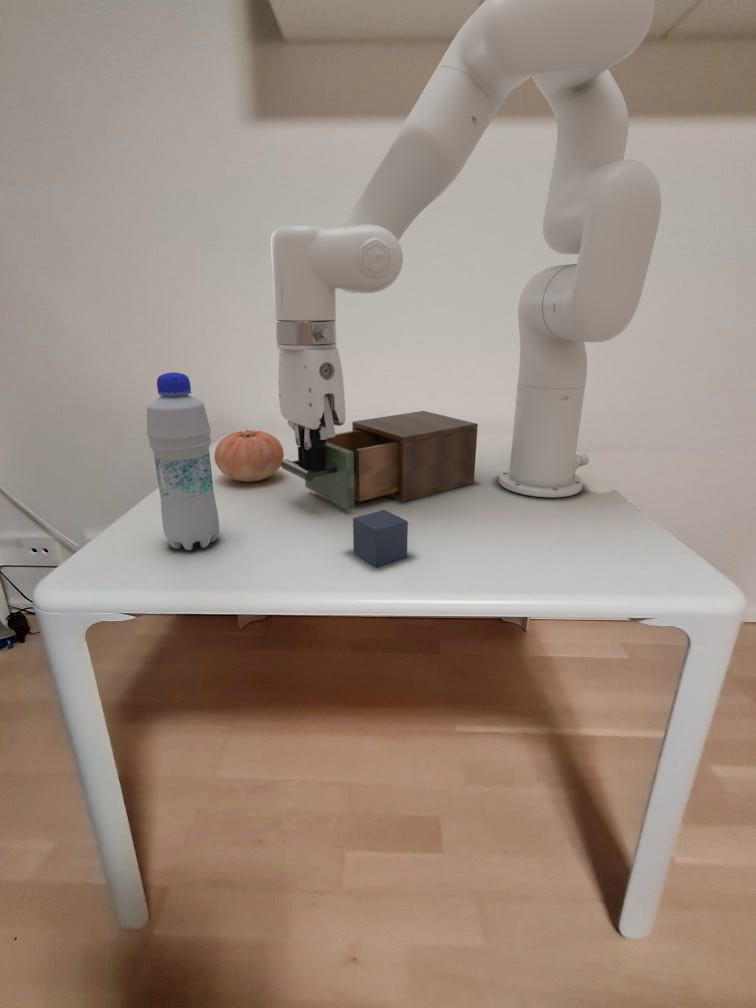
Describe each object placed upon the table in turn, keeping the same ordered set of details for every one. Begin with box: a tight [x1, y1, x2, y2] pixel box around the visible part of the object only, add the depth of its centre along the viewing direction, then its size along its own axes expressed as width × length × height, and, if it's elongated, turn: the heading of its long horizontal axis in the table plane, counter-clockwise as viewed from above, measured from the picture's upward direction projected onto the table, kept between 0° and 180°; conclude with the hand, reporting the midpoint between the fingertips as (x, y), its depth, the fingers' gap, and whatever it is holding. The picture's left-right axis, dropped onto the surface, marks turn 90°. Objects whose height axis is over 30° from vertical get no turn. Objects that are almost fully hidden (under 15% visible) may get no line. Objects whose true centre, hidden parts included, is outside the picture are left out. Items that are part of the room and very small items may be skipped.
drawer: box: [280, 429, 400, 510], centre depth 78 cm, size 18×11×8 cm, turn 127°
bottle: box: [146, 371, 220, 551], centre depth 62 cm, size 7×7×20 cm
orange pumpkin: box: [213, 429, 285, 483], centre depth 87 cm, size 11×11×8 cm
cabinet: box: [351, 410, 479, 503], centre depth 85 cm, size 15×13×10 cm
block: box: [352, 509, 409, 568], centre depth 61 cm, size 4×4×4 cm
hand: (312, 474), depth 75 cm, fingers closed
